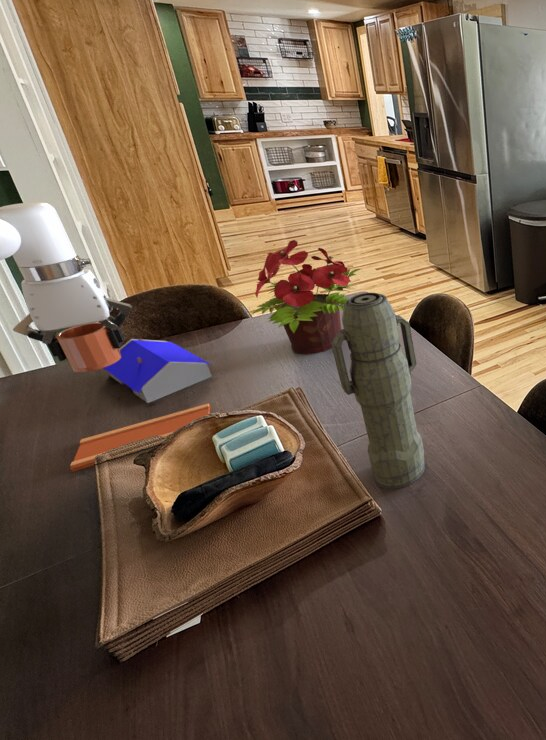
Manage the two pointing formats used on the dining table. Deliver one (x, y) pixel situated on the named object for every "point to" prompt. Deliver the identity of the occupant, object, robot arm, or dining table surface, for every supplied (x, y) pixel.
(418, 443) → the thermos
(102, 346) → the terracotta pot
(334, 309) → the potted plant
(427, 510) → the dining table surface
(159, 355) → the roof
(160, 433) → the orange rectangular tray
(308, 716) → the dining table surface
